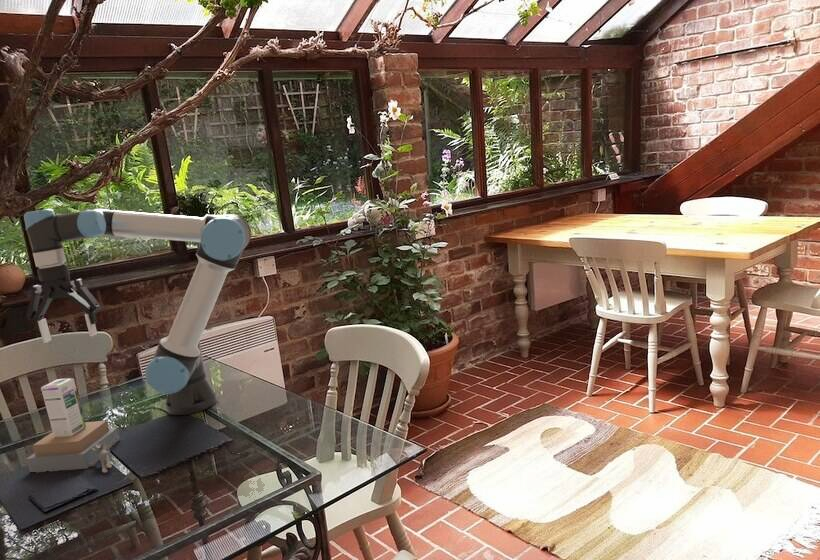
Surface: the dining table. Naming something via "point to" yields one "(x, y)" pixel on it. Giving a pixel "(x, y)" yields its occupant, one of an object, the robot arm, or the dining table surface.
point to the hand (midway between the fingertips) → (70, 338)
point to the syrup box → (63, 407)
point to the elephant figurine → (104, 455)
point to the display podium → (71, 448)
